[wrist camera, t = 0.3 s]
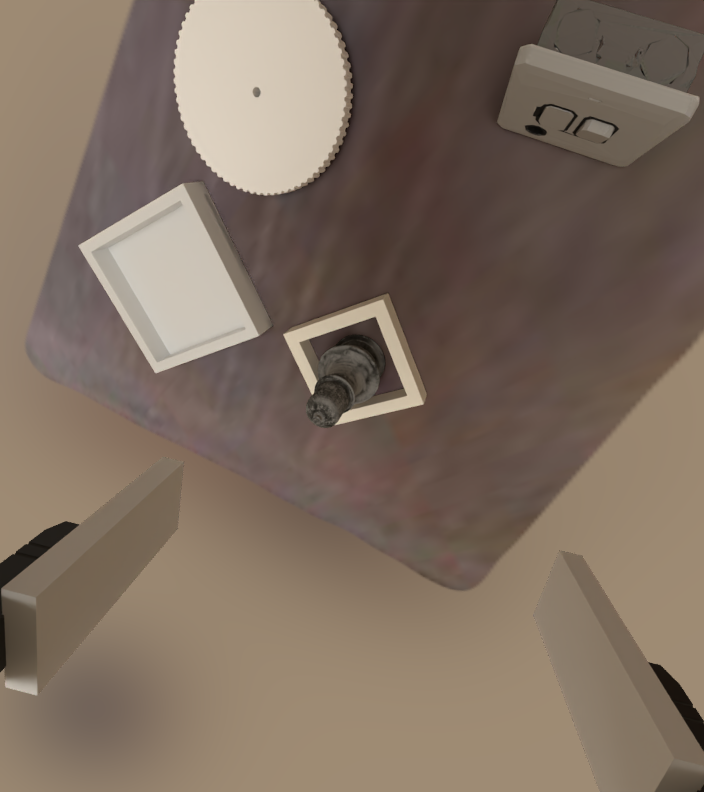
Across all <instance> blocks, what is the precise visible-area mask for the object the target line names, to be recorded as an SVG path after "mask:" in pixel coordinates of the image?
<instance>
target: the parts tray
mask: <svg viewBox="0 0 704 792" xmlns="http://www.w3.org/2000/svg"><path fill="white" fill-rule="evenodd" d="M79 248H80V249H81V251H82V253H83V254H84V256H85V258H86V259H87V261H88V263H89V264H90V266H91V268H92V269H93V271H94V272H95V274H96V276H97V277H98V279H99V281H100V282H101V284H102V286H103V287H104V289H105V291H106V292H107V294H108V296H109V297H110V299H111V301H112V302H113V304H114V305H115V307H116V309H117V310H118V312H119V314H120V315H121V317H122V319H123V320H124V322H125V324H126V325H127V327H128V329H129V330H130V332H131V334H132V335H133V337H134V339H135V340H136V342H137V343H138V345H139V347H140V348H141V350H142V352H143V353H144V355H145V357H146V358H147V360H148V362H149V363H150V365H151V367H152V368H153V370H154V372H155V373H158V372H160V371H163V370H166V369H169V368H171V367H174V366H177V365H180V364H183V363H185V362H188V361H191V360H194V359H196V358H199V357H202V356H205V355H208V354H210V353H213V352H216V351H219V350H221V349H224V348H227V347H230V346H233V345H235V344H238V343H241V342H244V341H246V340H249V339H252V338H255V337H257V336H260V335H261V334H262V333H264V332H265V331H266V330H268V329H269V328H270V327H272V326H273V324H272V322H271V320H270V318H269V316H268V314H267V312H266V310H265V308H264V305H263V303H262V301H261V299H260V297H259V295H258V293H257V291H256V289H255V287H254V285H253V283H252V281H251V279H250V277H249V275H248V273H247V270H246V268H245V266H244V264H243V262H242V260H241V258H240V256H239V254H238V252H237V250H236V248H235V246H234V244H233V242H232V240H231V238H230V235H229V233H228V231H227V229H226V227H225V225H224V223H223V221H222V219H221V217H220V215H219V213H218V211H217V209H216V207H215V205H214V203H213V200H212V198H211V196H210V194H209V192H208V190H207V188H206V186H205V184H204V182H192V183H183V184H181V185H179V186H178V187H176V188H174V189H173V190H171V191H169V192H168V193H166V194H164V195H163V196H161V197H159V198H157V199H156V200H154V201H152V202H151V203H149V204H147V205H146V206H144V207H142V208H141V209H139V210H137V211H136V212H134V213H132V214H131V215H129V216H127V217H126V218H124V219H122V220H121V221H119V222H117V223H115V224H114V225H112V226H110V227H109V228H107V229H105V230H104V231H102V232H100V233H99V234H97V235H95V236H94V237H92V238H90V239H89V240H87V241H85V242H84V243H82V244H80V245H79Z"/></svg>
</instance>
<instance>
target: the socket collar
mask: <svg viewBox="0 0 704 792" xmlns="http://www.w3.org/2000/svg"><path fill="white" fill-rule="evenodd" d="M373 317H376V319H377V321H378V324H379V326H380V329H381V331H382V334H383V336H384V339H385V341H386V344H387V346H388V349H389V351H390V354H391V356H392V359H393V362H394V364H395V367H396V369H397V372H398V374H399V377H400V379H401V382H402V384H403V387H404V388H403V389H400V390H396V391H392V392H388V393H384V394H380V395H376V396H372V397H371V398H370V399H369V400H367V401H365V402H363V403H359V404H354V405H353V407H352V408H351V409H350V410H349V411H348V412H345V413H343V414H342V416H341V417H340V419H339V421H338V422H337V423H336V424H335V425H337V424H341V423H346V422H350V421H354V420H359V419H363V418H367V417H371V416H376V415H380V414H384V413H388V412H393V411H397V410H401V409H406V408H410V407H414V406H418V405H423V404H424V402H425V399H426V396H427V393H426V391H425V388H424V385H423V383H422V380H421V377H420V375H419V372H418V370H417V367H416V364H415V362H414V359H413V357H412V354H411V351H410V349H409V346H408V343H407V341H406V338H405V336H404V333H403V330H402V328H401V325H400V322H399V320H398V317H397V315H396V312H395V309H394V307H393V304H392V302H391V299H390V296H389V294H388V293H387V294H384V295H381V296H378V297H376V298H373V299H370V300H367V301H364V302H362V303H359V304H356V305H353V306H350V307H348V308H345V309H342V310H339V311H336V312H334V313H331V314H328V315H325V316H322V317H320V318H317V319H314V320H311V321H308V322H306V323H303V324H300V325H297V326H294V327H292V328H290V329H289V330H288V331H287V332H285V333H284V334H283V335H284V337H285V339H286V341H287V344H288V346H289V348H290V350H291V352H292V354H293V356H294V358H295V360H296V362H297V364H298V366H299V368H300V371H301V373H302V375H303V377H304V379H305V381H306V383H307V385H308V387H309V389H310V391H311V393H312V395H313V394H314V389H315V385H316V383H317V381H318V380H319V378H318V371H317V370H318V363H319V360H318V358H317V356H316V354H315V351H314V349H313V347H312V345H311V343H310V341H309V339H310V338H313V337H316V336H319V335H322V334H325V333H328V332H331V331H334V330H337V329H340V328H343V327H346V326H349V325H352V324H355V323H358V322H361V321H364V320H367V319H370V318H373Z"/></svg>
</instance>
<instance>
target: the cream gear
mask: <svg viewBox="0 0 704 792" xmlns="http://www.w3.org/2000/svg"><path fill="white" fill-rule="evenodd" d="M189 8H190V12H189V13H186V15H185V17H186V20H185V22H184V21H183V22H182V27H183V28H182V31H181V30H180V31H179V36H180V38H179V40H177V42H176V44H177V45H178V47H177V49H175V54H176V59H174V64H175V69H174V74H175V79H174V83H175V84H176V88H175V93H176V94H177V98H176V102H177V103H179V107H178V110H179V112H181V115H182V116H181V120H182V121H184V124H185V125H184V128H185V130H187V131H188V134H187V135H188V137H189V138H191V140H192V142H191V143H192V145H193V146H195V147H196V152H197V153H200V155H201V159H202V160H205V161H206V165H207V166H210V167H211V168H212V169H211V170H212V171H213V172H216V173H217V176H218V177H223V180H224V181H225V182H230V185H231V186H236V188H237V189H243V191H245V192H249V191H250V193H251V194H254V193H257V195H262V194H264V195H276V194H283V193H288V192H292V191H295V190H296V189H300V188H302V186H306V185H308V183H309V182H313V181H314V178H318V177H319V176H320V174H319V173H322V172H324V171H325V167H328V166H329V165H330V161H331V160H334V158H335V156H334V155H335V153H338V152H339V148H338V147H339V145H342V143H343V140H342V138H343V136H346V132H345V129H346V128H348V126H349V123H348V118H350V117H351V114H350V113H349V111H350V109H351V108H352V104H351V103H350V102H351V99H352V98H353V94H352V93H351V89H352V88H353V84H352V83H351V81H350V79H351V78H352V73H350V72H349V68H350V67H351V65H350V63H349V62H348V61H347V58H348V57H349V56H348V53H347V52H346V51H345V49H344V48H345V47H346V45H345V43H344V42H343V41H342V40H341V38H342V35H341V33H340V32H339V31H337V28H338V26H337V24H336V23H335V22H333V21H332V19H333V18H332V16H331V15H330V14H329V13H328V12H327V9H326V7H325V6H323V5H322V4H321V2H320V0H195V3H194V5H192V4H191V5H190V7H189Z"/></svg>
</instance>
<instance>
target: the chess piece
mask: <svg viewBox="0 0 704 792" xmlns="http://www.w3.org/2000/svg"><path fill="white" fill-rule="evenodd" d="M384 368H385V357H384V354H383V351H382V350H381V348H380V347H379V345H378V344H377V343H376V342H374V341H373V340H372V339H370V338H368V337H366V336H362V335H350V336H347V337H345V338H343V339H341V340H340V341H339V342H338V343H337V344H336V346H335V347H332V348H331V349H329V350H327V351H326V352H325V353H324V354H323V355H322V357H321V359H320V361H319V363H318V370H317V371H318V378H319V380H318V381H317V383H316V385H315V389H314V394H313V395H312V396H311V398H310V399H309V400H308V402H307V405H306V413H307V416H308V418H309V419H310V421H311V422H312V423H313V424H315V425H316V426H319V427H323V428H328V427H332V426H334V425H335V424H336V423H337V422H338V421H339V419H340V417H341V416H342V414H343V413H345V412H348V411H349V410H350V409H351V408H352V407H353V405H354V404H359V403H363V402H365V401H367V400H369V399H370V398H371V397H372V396H373V395H374V394H375V392H376V391H377V389H378V386H379V382H380V377H381V375H382V373H383V372H384Z"/></svg>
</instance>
